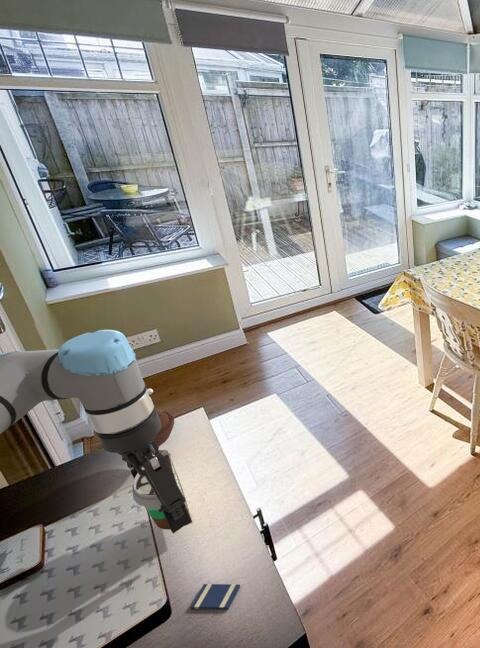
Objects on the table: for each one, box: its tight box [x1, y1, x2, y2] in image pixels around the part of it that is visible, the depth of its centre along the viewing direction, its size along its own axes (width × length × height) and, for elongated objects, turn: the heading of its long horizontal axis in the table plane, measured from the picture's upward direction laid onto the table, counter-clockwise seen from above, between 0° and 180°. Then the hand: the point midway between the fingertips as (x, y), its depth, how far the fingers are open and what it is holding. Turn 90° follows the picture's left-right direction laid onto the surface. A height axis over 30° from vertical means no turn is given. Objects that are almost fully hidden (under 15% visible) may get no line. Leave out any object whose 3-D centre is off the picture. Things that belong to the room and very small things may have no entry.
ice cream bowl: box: [117, 405, 175, 456], centre depth 89 cm, size 11×11×15 cm
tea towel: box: [190, 583, 241, 610], centre depth 68 cm, size 6×3×1 cm, turn 91°
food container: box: [131, 449, 193, 531], centre depth 76 cm, size 12×6×10 cm, turn 45°
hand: (165, 507), depth 76 cm, fingers closed on food container, 12 cm apart
